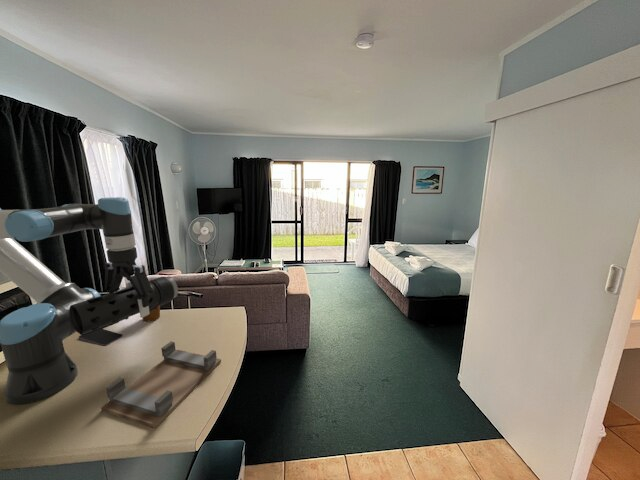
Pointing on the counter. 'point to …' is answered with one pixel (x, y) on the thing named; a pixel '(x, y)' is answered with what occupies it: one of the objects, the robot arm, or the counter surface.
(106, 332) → the smartphone
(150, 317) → the disposable coffee cup
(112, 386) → the mounting board
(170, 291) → the muzzle brake
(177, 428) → the counter surface
